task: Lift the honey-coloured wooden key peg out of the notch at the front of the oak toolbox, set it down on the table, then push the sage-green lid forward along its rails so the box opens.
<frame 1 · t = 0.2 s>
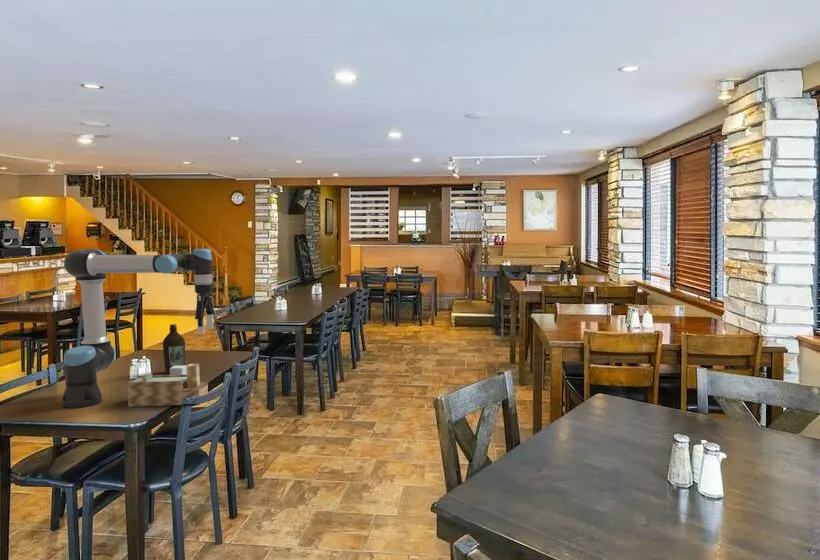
hand: (205, 331, 261), 28 cm above the table, tool pointing down, fingers open, 13 cm apart
lid: (159, 378, 248), point 10 cm above the table, slide at 0.0 cm
product box: (179, 382, 283), on the table
toolbox: (161, 401, 249), on the table
olive oil: (175, 373, 300), on the table
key: (193, 388, 249), point 5 cm above the table, touching toolbox
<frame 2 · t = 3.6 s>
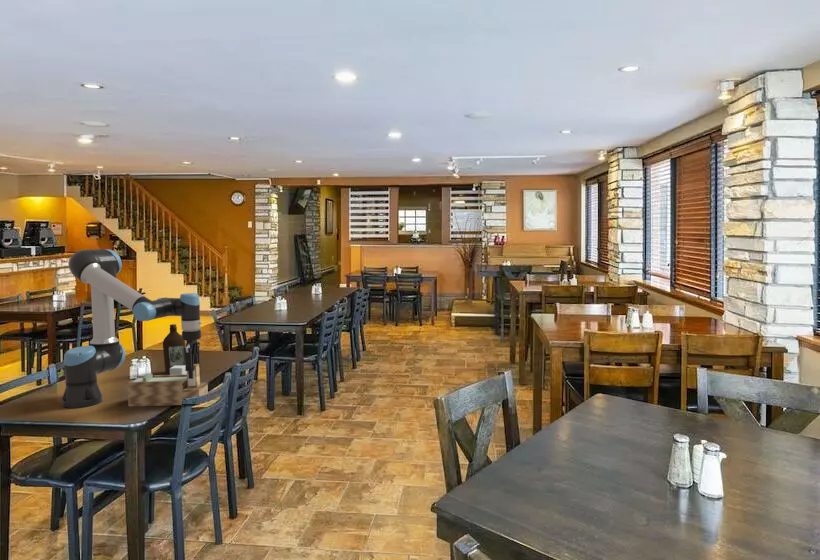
hand: (193, 384, 249), 7 cm above the table, tool pointing down, fingers closed on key, 4 cm apart
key: (193, 388, 249), point 6 cm above the table, touching gripper, toolbox
everything else where it was.
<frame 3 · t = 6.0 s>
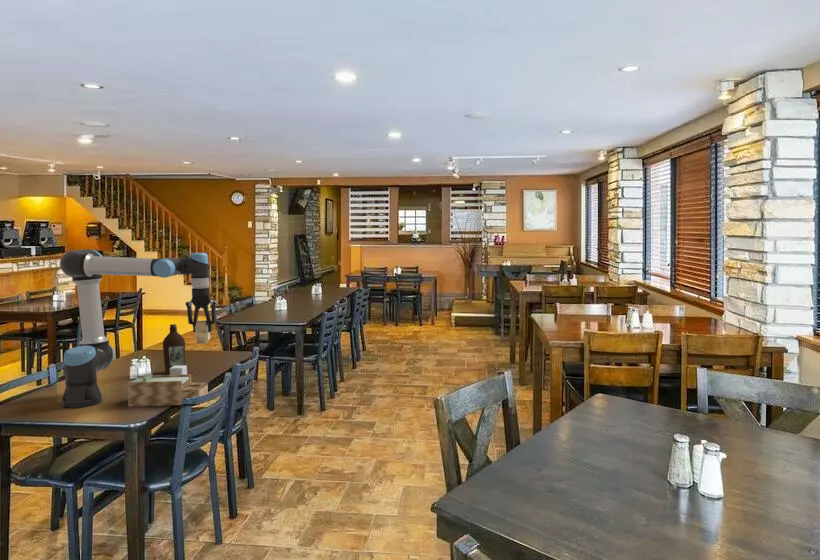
hand: (202, 339, 263), 24 cm above the table, tool pointing down, fingers closed on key, 4 cm apart
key: (203, 342, 263), point 22 cm above the table, touching gripper
everything else where it was.
when the fingers open (3 cm above the table, at t = 8.5 s): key drops 1 cm, on the table.
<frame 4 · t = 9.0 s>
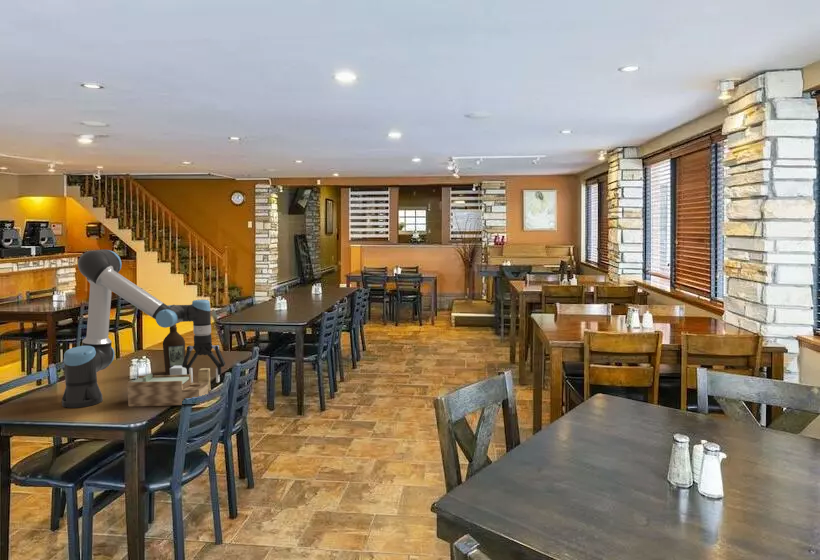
hand: (204, 382, 264), 4 cm above the table, tool pointing down, fingers open, 11 cm apart
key: (204, 391, 265), on the table
everything else where it was.
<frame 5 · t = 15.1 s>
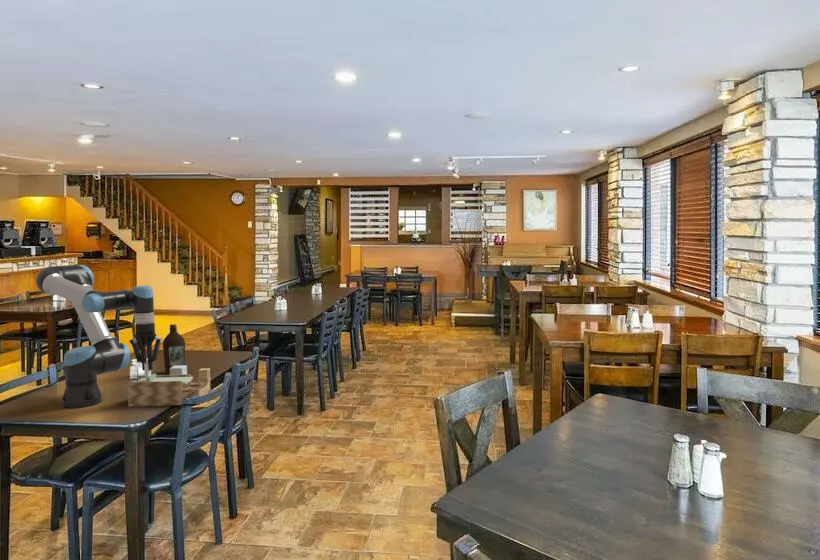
hand: (148, 377, 248), 10 cm above the table, tool pointing down, fingers closed
lid: (163, 378, 248), point 10 cm above the table, slide at 1.6 cm, touching gripper
everything else where it was.
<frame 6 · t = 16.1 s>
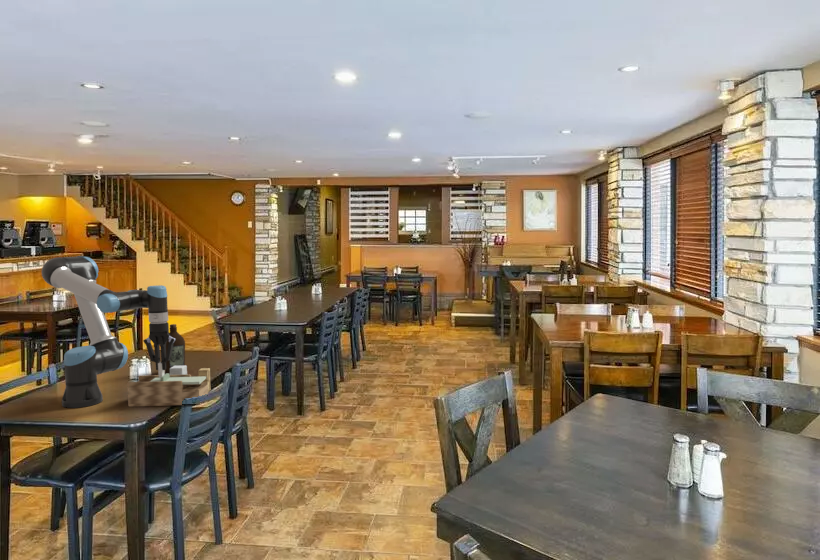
hand: (161, 377, 248), 10 cm above the table, tool pointing down, fingers closed
lid: (177, 378, 249), point 10 cm above the table, slide at 7.2 cm, touching gripper
everything else where it was.
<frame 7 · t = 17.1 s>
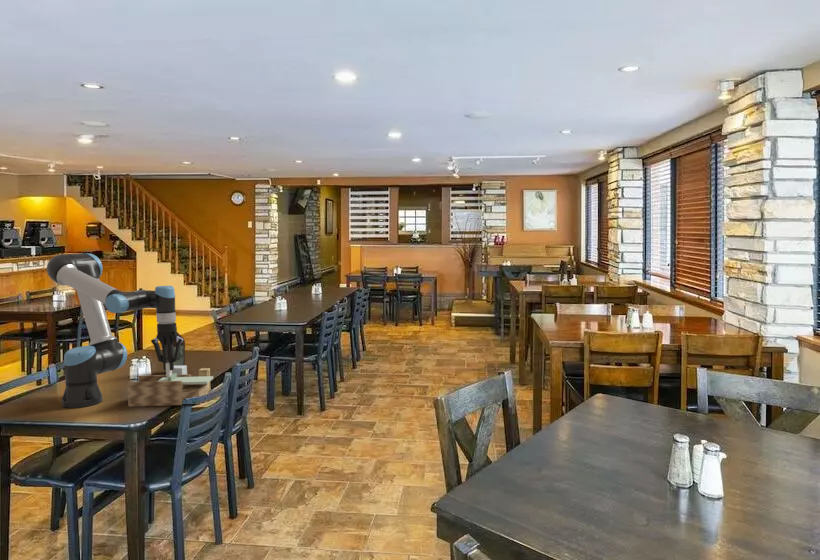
hand: (169, 377, 248), 10 cm above the table, tool pointing down, fingers closed
lid: (184, 378, 249), point 10 cm above the table, slide at 10.3 cm, touching gripper
everything else where it was.
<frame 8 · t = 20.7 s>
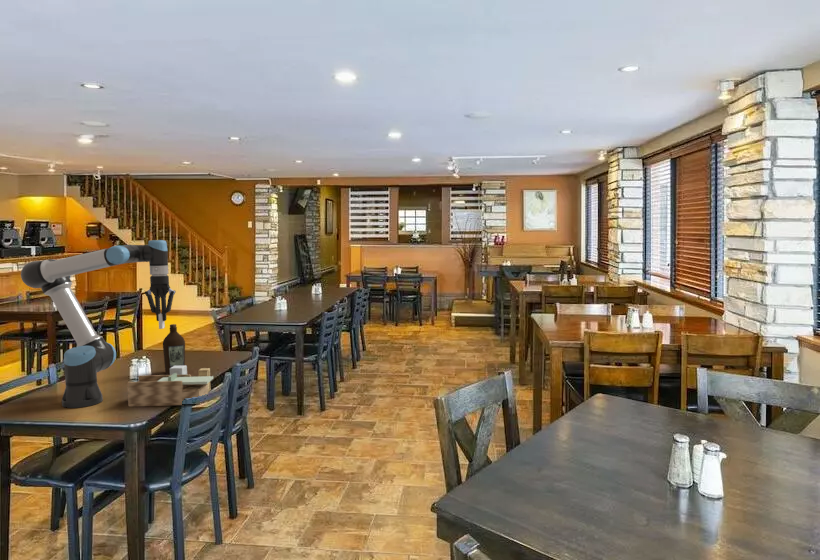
hand: (161, 328, 259), 29 cm above the table, tool pointing down, fingers closed
lid: (184, 378, 249), point 10 cm above the table, slide at 10.3 cm
everything else where it was.
at the end: lid slide at 10.3 cm; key moved 15.9 cm from its start; the gripper is holding nothing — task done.
